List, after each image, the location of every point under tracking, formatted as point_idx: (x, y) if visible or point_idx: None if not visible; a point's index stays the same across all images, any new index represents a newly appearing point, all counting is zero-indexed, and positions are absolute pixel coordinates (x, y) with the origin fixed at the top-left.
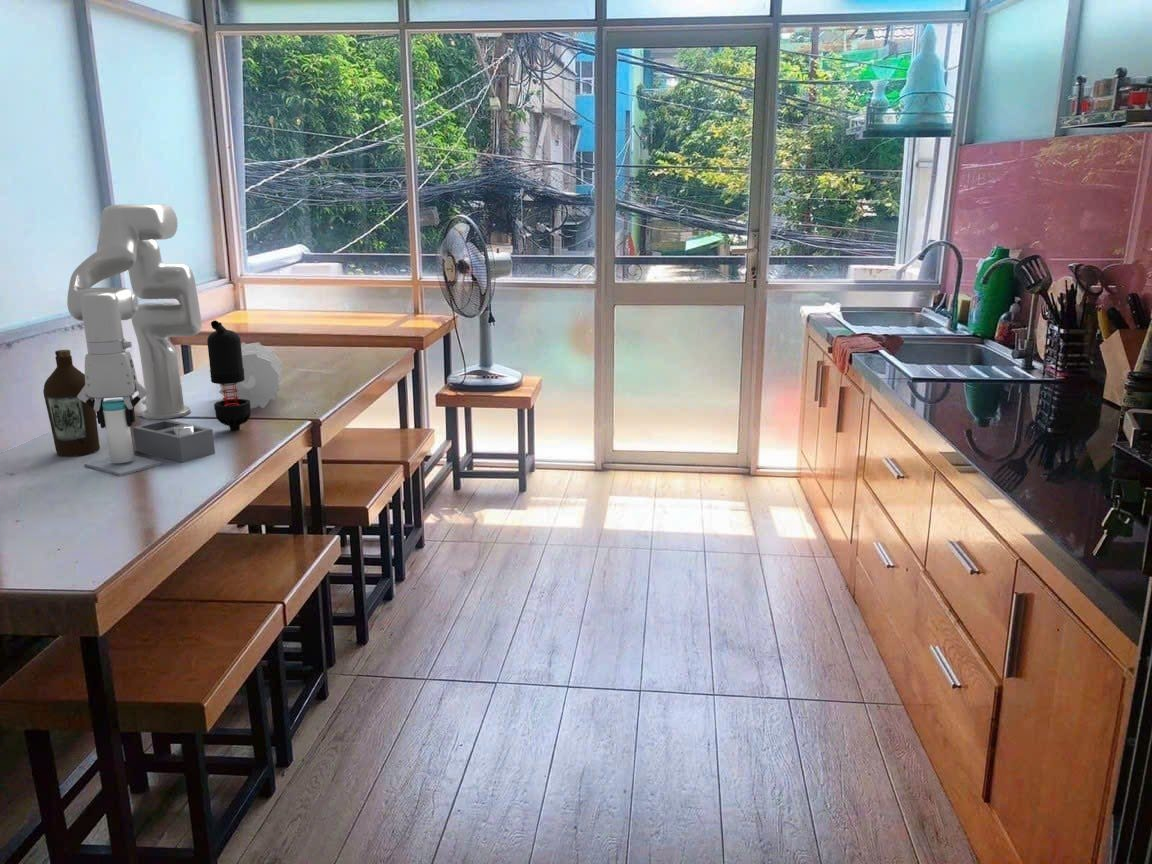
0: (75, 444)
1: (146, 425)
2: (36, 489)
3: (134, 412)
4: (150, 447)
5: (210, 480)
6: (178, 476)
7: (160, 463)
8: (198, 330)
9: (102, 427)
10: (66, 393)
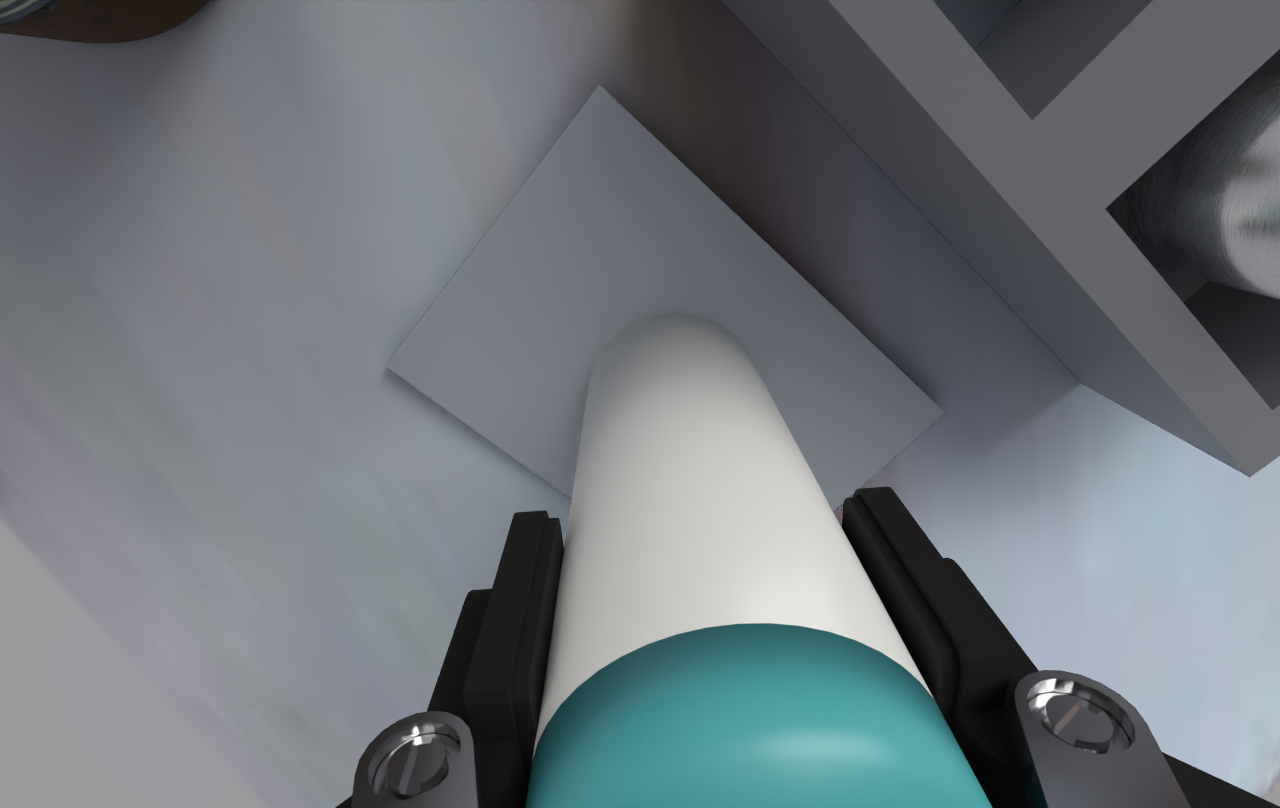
0: (69, 23)
1: None
2: (336, 733)
3: (1005, 635)
4: (853, 116)
5: (1212, 721)
6: (1051, 644)
7: (937, 411)
8: None
9: None
10: None
